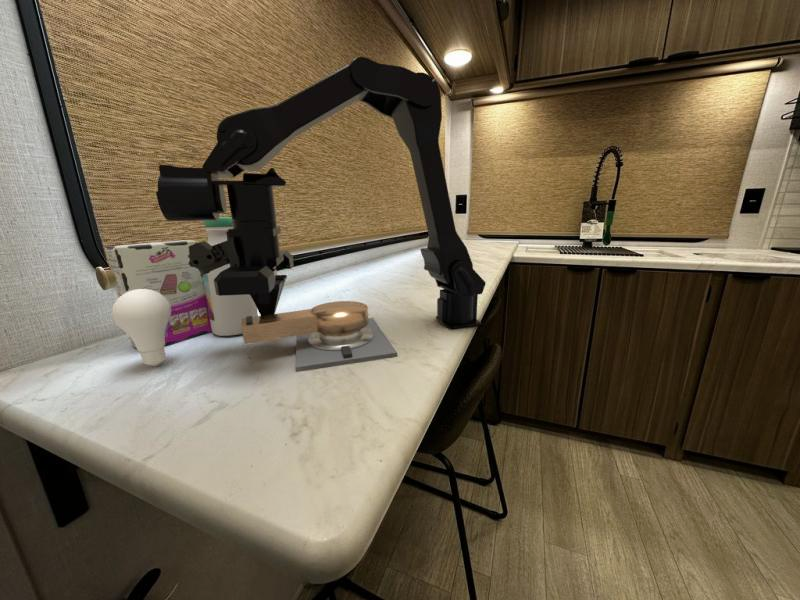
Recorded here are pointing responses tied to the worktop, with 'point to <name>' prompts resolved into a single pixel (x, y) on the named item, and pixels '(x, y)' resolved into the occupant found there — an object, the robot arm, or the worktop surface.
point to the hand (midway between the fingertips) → (268, 323)
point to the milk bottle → (227, 307)
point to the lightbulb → (144, 322)
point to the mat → (343, 351)
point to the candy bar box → (164, 283)
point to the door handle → (307, 322)
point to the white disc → (340, 340)
